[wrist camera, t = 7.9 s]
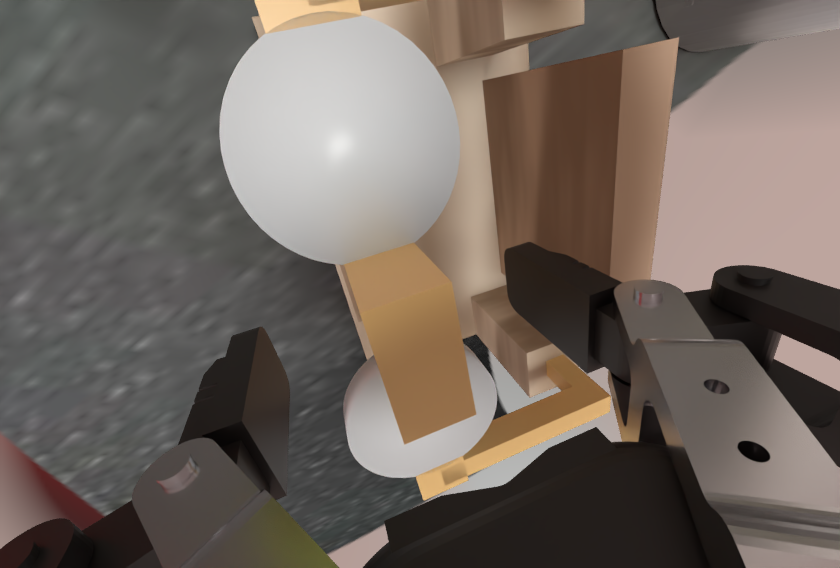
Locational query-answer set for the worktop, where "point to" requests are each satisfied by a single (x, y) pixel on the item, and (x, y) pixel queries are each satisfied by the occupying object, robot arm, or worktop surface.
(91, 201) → the worktop surface
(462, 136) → the display stand
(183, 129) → the worktop surface
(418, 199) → the glasses
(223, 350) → the worktop surface
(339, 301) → the worktop surface
